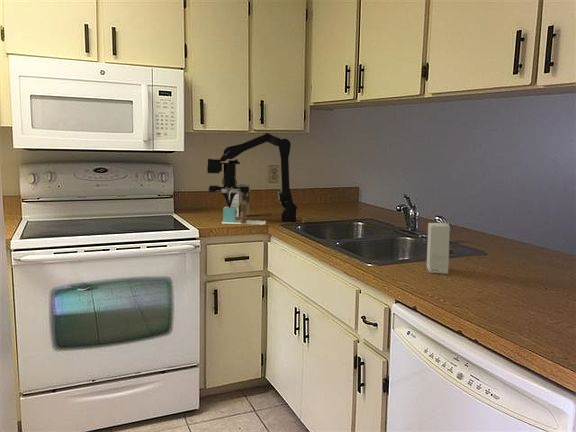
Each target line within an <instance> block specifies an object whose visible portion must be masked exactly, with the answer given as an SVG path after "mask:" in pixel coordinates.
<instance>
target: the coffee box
mask: <svg viewBox="0 0 576 432" xmlns="http://www.w3.org/2000/svg"><path fill="white" fill-rule="evenodd" d="M241 186H250V184H241V183H240V184H239V183H237V187H241ZM228 192H229V200H230V193H231V192H232V191H228ZM231 207H236V218H241V212H246V216H250V192H249V193H242V192H241V191H238V194H235V196H234V198H233V201H232V204H231Z"/></svg>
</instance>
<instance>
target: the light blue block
mask: <svg viewBox="0 0 576 432" xmlns="http://www.w3.org/2000/svg"><path fill="white" fill-rule="evenodd" d="M222 210H223V211H222V218H223V219H222V220H223V221H222V222H235V221H236V220H237V217H236V207H228V206H224V207H223V208H222Z"/></svg>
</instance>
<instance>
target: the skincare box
mask: <svg viewBox="0 0 576 432" xmlns="http://www.w3.org/2000/svg"><path fill="white" fill-rule="evenodd" d="M450 232H451V226H450V225H449V224H448V223H446V222H428V224H427V244H426V245H427V250H426V268H427V270H428V272H429V273H431V274H445V275H449V260H450V259H449V258H450Z"/></svg>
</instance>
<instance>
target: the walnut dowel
mask: <svg viewBox="0 0 576 432" xmlns="http://www.w3.org/2000/svg"><path fill="white" fill-rule="evenodd" d="M240 220H241V224H240V225H247V224H246V220H247V215H246V212H241V217H240Z"/></svg>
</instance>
